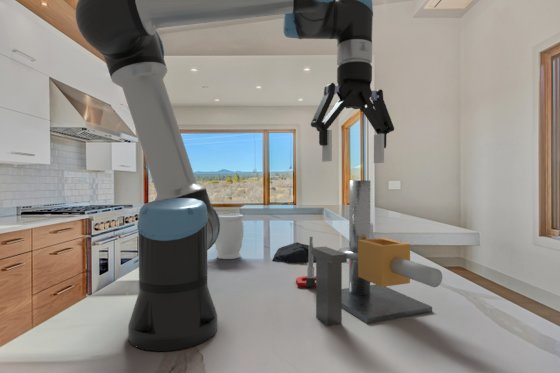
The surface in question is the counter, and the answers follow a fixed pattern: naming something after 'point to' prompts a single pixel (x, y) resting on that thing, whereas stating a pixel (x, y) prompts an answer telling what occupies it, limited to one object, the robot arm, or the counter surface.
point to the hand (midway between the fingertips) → (353, 162)
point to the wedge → (329, 284)
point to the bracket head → (392, 264)
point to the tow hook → (308, 272)
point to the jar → (229, 236)
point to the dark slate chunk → (293, 253)
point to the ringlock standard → (361, 295)
